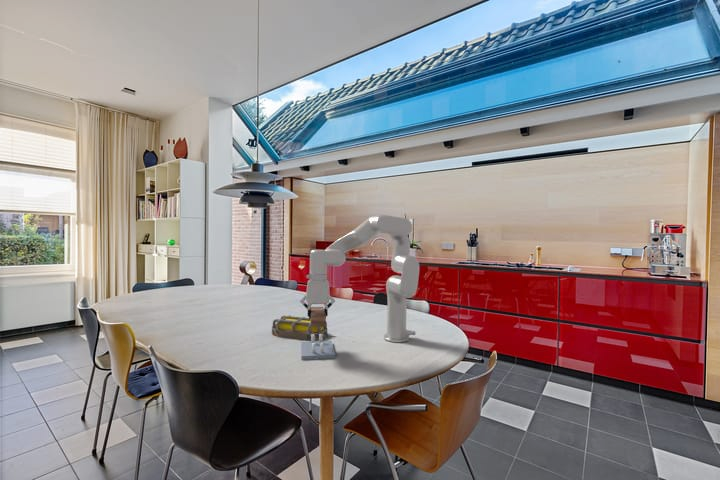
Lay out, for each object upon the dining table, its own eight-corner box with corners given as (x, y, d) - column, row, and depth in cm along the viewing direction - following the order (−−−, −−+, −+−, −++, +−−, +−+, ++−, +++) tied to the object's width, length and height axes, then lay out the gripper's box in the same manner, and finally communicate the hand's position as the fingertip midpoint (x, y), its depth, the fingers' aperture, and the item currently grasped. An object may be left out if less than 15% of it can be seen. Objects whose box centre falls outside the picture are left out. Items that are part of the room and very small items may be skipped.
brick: (325, 326, 138) (325, 314, 138) (311, 327, 137) (311, 315, 137) (322, 317, 154) (323, 306, 153) (310, 317, 152) (310, 307, 152)
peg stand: (331, 343, 156) (331, 332, 155) (335, 358, 138) (335, 345, 138) (301, 345, 153) (301, 333, 153) (301, 359, 135) (301, 346, 135)
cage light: (281, 313, 181) (331, 318, 172) (281, 327, 181) (331, 333, 172) (266, 320, 167) (320, 325, 158) (266, 335, 167) (320, 342, 158)
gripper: (298, 278, 140) (297, 320, 140) (338, 278, 143) (337, 319, 143) (298, 276, 147) (297, 316, 147) (336, 276, 150) (336, 315, 150)
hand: (317, 317), depth 145 cm, fingers closed on brick, 6 cm apart
